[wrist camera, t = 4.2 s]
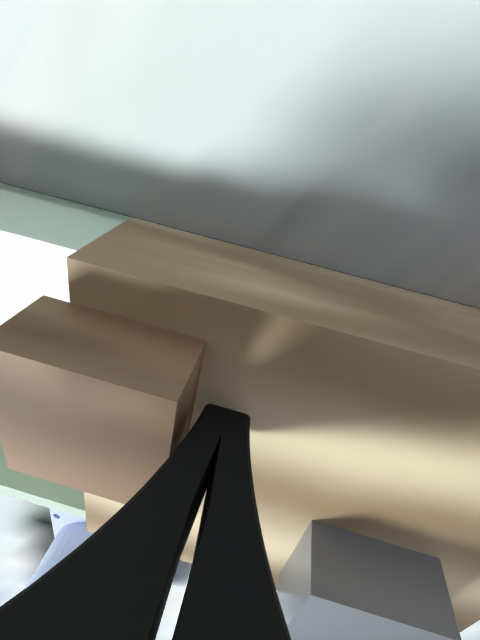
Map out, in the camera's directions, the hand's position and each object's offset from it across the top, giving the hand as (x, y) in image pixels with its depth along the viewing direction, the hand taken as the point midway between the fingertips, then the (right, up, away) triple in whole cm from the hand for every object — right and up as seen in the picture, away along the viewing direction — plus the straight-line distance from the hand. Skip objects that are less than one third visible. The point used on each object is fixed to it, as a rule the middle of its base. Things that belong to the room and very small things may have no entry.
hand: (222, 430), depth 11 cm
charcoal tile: (+5, -7, +4) cm, 10 cm away
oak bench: (+4, -1, +6) cm, 7 cm away
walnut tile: (-3, +1, +1) cm, 4 cm away
